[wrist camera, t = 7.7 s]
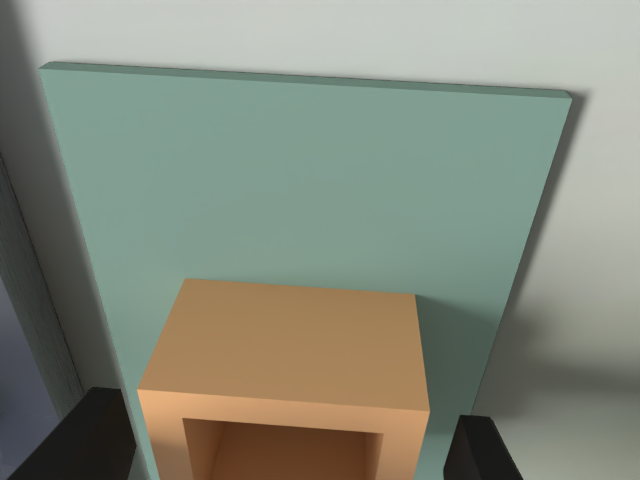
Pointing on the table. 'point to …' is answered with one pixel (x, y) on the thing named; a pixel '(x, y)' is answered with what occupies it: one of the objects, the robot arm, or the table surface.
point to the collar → (286, 384)
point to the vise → (28, 345)
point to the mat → (306, 201)
